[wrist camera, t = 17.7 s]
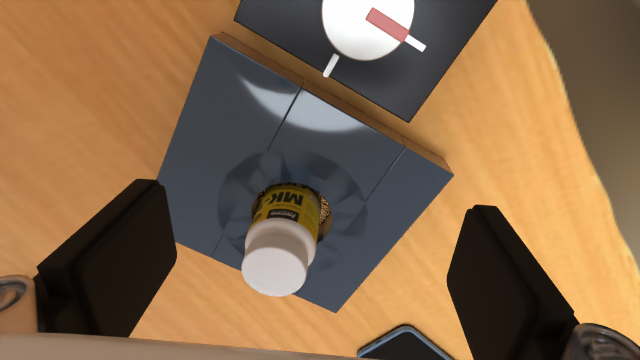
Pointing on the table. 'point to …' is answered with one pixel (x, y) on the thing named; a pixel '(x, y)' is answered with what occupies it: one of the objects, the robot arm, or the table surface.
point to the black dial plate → (382, 74)
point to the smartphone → (403, 347)
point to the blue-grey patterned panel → (290, 168)
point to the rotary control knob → (367, 26)
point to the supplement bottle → (282, 239)
